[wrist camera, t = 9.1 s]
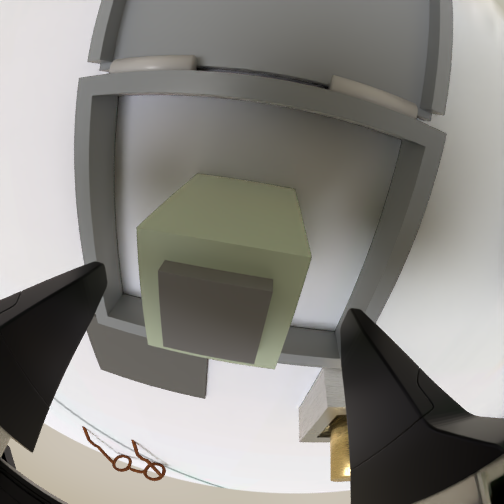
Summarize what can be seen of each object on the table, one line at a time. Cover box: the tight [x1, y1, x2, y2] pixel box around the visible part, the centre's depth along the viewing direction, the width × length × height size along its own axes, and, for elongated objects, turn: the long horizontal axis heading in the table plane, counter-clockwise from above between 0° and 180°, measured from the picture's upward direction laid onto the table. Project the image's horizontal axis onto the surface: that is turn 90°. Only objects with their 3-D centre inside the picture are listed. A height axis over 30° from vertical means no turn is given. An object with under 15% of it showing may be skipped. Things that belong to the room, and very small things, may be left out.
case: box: [74, 0, 453, 369], centre depth 10 cm, size 17×30×2 cm, turn 171°
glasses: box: [82, 426, 166, 481], centre depth 36 cm, size 13×13×5 cm
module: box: [137, 173, 312, 369], centre depth 11 cm, size 5×5×8 cm
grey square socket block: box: [299, 368, 346, 442], centre depth 20 cm, size 7×7×4 cm
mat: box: [87, 314, 208, 399], centre depth 21 cm, size 11×8×1 cm
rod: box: [330, 415, 351, 482], centre depth 17 cm, size 4×4×8 cm
